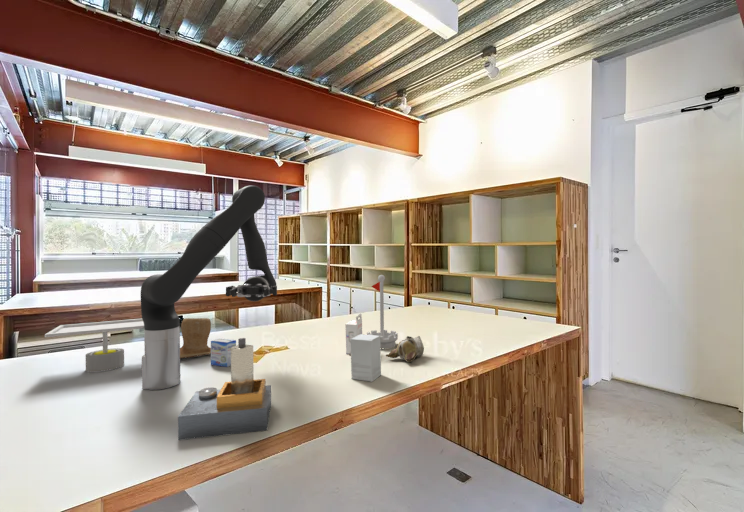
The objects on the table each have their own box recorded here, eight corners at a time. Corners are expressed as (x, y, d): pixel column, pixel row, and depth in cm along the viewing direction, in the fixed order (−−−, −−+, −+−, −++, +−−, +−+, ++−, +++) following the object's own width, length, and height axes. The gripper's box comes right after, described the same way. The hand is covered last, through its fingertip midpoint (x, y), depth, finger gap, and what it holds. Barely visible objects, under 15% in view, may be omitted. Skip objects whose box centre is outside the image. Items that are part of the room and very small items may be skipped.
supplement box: (381, 374, 114) (381, 335, 114) (372, 382, 108) (371, 340, 108) (361, 371, 117) (360, 333, 117) (350, 379, 111) (350, 338, 111)
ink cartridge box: (351, 348, 147) (350, 312, 147) (362, 348, 146) (362, 313, 146) (345, 354, 138) (344, 316, 138) (357, 354, 137) (357, 316, 137)
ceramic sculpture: (431, 333, 133) (407, 343, 122) (432, 356, 133) (408, 368, 122) (407, 330, 140) (383, 339, 129) (409, 351, 140) (384, 363, 129)
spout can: (229, 403, 81) (228, 342, 81) (233, 394, 86) (232, 337, 86) (252, 401, 82) (251, 340, 82) (254, 392, 87) (254, 335, 87)
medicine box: (210, 365, 127) (209, 340, 126) (220, 361, 131) (219, 337, 131) (227, 367, 124) (227, 342, 124) (236, 363, 128) (236, 339, 128)
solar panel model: (45, 382, 110) (44, 334, 110) (61, 367, 126) (60, 324, 125) (150, 368, 124) (149, 324, 124) (153, 355, 139) (152, 317, 139)
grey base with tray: (178, 440, 75) (177, 404, 75) (196, 411, 89) (196, 381, 89) (267, 430, 79) (266, 396, 79) (271, 404, 92) (271, 375, 92)
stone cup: (211, 349, 147) (211, 313, 147) (215, 356, 137) (214, 317, 136) (169, 355, 139) (169, 317, 139) (170, 363, 129) (169, 322, 129)
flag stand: (403, 344, 153) (402, 274, 152) (388, 351, 142) (387, 276, 141) (377, 340, 160) (376, 273, 159) (360, 347, 149) (360, 275, 148)
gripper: (232, 276, 113) (222, 279, 98) (279, 276, 116) (276, 279, 100) (232, 300, 113) (221, 306, 97) (278, 299, 116) (275, 305, 100)
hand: (249, 292), depth 99 cm, fingers open, 8 cm apart
